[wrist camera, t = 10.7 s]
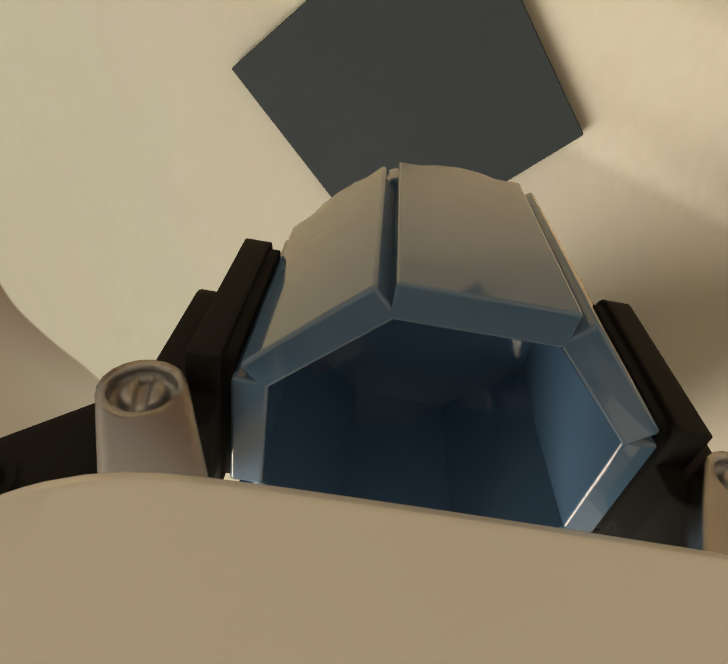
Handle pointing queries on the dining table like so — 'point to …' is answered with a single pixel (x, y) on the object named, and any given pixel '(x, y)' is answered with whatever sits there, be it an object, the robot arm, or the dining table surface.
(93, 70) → the dining table surface
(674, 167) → the dining table surface
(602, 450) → the bowl small
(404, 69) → the mat
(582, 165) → the dining table surface
